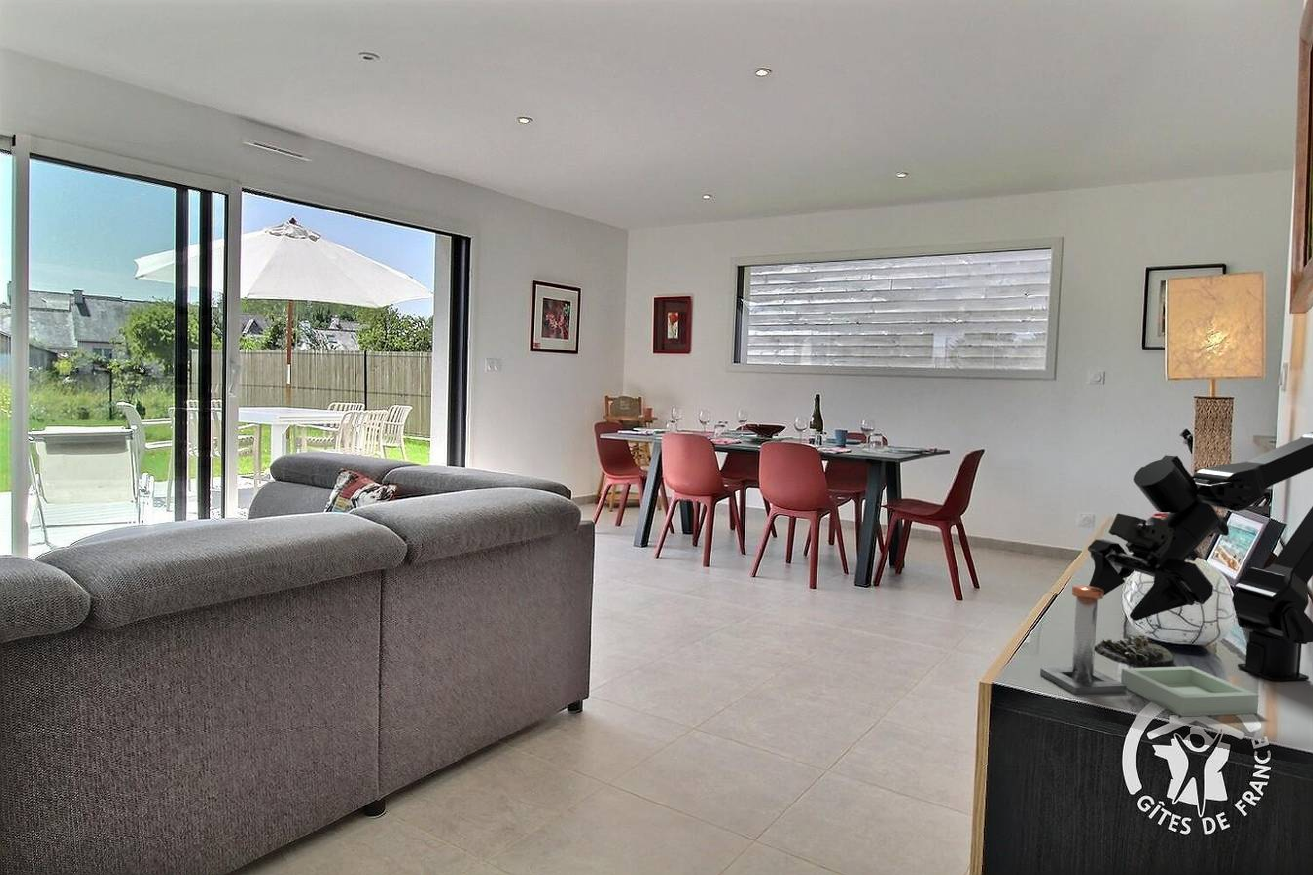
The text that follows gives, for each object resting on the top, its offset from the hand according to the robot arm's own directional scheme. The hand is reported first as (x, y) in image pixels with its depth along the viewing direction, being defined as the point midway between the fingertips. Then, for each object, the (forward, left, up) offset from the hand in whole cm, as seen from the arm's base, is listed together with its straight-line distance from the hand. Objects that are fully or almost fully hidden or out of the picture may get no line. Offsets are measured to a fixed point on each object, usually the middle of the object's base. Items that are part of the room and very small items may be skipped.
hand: (1108, 609), depth 122 cm
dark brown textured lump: (-14, -11, -11) cm, 21 cm away
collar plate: (+4, 0, -11) cm, 11 cm away
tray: (-7, +7, -11) cm, 15 cm away
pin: (+4, 0, -11) cm, 11 cm away
